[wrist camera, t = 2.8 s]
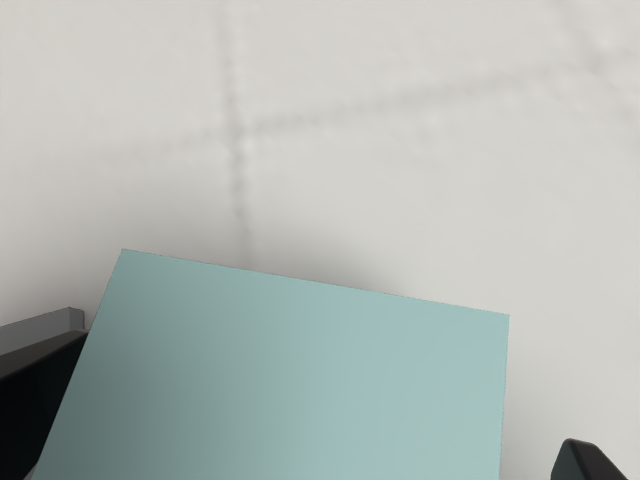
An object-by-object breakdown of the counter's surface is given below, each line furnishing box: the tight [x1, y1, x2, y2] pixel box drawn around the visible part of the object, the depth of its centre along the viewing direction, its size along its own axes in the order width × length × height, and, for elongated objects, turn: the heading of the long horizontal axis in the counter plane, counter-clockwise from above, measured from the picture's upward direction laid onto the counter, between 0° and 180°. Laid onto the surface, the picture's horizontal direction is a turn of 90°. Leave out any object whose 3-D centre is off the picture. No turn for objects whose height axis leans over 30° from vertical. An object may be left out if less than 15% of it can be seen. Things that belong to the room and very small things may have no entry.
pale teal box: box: [31, 249, 509, 480], centre depth 9 cm, size 6×6×9 cm
